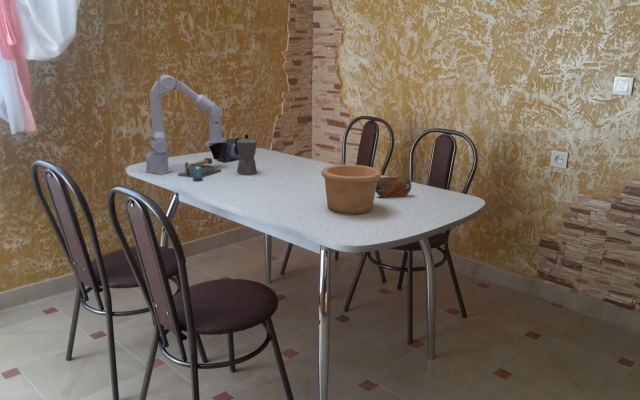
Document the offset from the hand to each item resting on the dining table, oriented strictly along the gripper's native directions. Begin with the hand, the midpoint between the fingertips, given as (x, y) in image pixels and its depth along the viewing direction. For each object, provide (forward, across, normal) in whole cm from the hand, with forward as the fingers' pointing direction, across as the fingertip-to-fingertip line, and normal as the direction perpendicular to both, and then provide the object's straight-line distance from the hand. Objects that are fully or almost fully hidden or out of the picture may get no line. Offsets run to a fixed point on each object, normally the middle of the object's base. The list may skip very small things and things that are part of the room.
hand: (216, 159), depth 261 cm
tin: (+5, -7, -90) cm, 90 cm away
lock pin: (+1, -13, 0) cm, 13 cm away
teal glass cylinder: (+4, -24, -7) cm, 25 cm away
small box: (+5, +18, +5) cm, 19 cm away
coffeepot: (+4, -1, -17) cm, 18 cm away
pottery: (+5, -31, -81) cm, 87 cm away
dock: (+4, -13, 0) cm, 14 cm away
